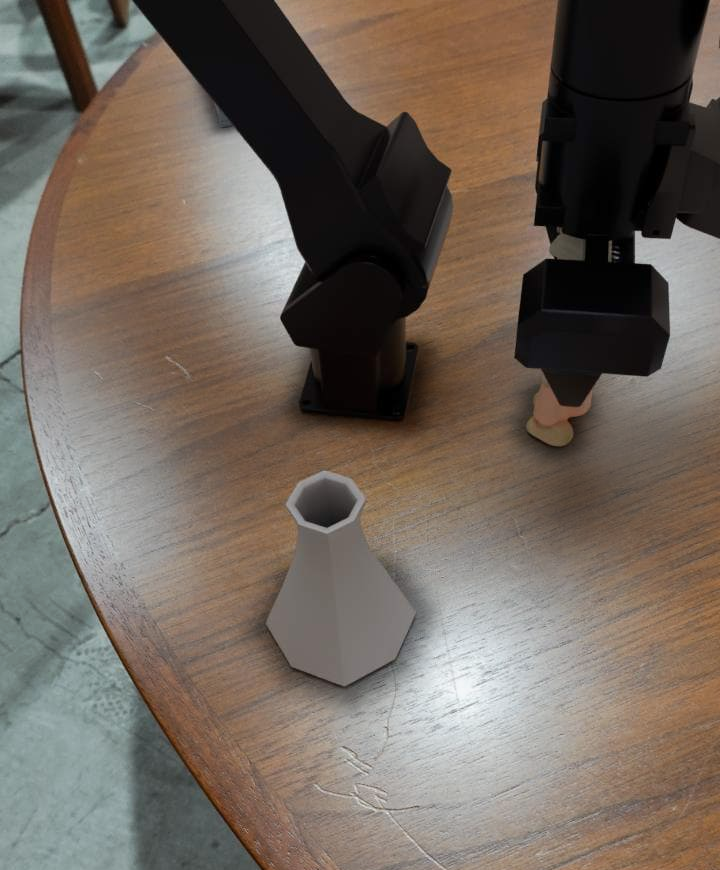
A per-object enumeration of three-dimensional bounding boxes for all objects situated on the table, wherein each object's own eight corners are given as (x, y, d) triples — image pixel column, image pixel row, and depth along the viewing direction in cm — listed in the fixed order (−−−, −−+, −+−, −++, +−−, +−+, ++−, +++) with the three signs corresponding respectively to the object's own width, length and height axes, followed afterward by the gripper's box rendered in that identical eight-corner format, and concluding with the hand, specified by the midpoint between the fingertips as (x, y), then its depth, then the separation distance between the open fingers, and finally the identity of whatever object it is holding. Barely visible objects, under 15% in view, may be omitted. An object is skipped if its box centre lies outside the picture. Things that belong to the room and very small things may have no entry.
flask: (441, 613, 46) (447, 491, 37) (345, 713, 43) (329, 604, 34) (337, 539, 49) (321, 411, 40) (241, 628, 46) (204, 509, 37)
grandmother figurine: (588, 462, 51) (638, 273, 40) (520, 456, 51) (553, 267, 41) (587, 370, 55) (632, 180, 45) (524, 365, 56) (555, 176, 45)
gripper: (865, 210, 30) (736, 497, 43) (805, -37, 41) (717, 253, 53) (529, 196, 32) (502, 476, 44) (556, -37, 42) (528, 243, 55)
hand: (573, 351), depth 49 cm, fingers closed on grandmother figurine, 8 cm apart
